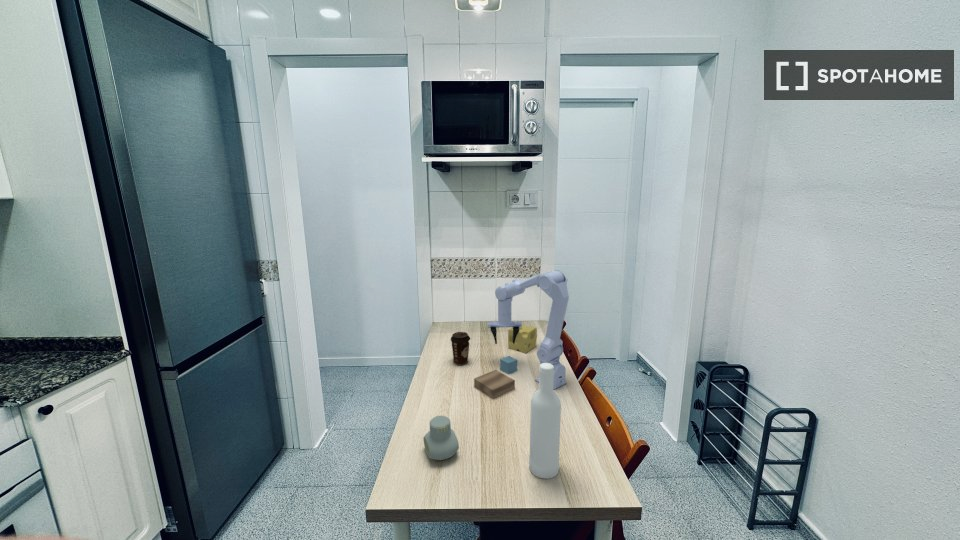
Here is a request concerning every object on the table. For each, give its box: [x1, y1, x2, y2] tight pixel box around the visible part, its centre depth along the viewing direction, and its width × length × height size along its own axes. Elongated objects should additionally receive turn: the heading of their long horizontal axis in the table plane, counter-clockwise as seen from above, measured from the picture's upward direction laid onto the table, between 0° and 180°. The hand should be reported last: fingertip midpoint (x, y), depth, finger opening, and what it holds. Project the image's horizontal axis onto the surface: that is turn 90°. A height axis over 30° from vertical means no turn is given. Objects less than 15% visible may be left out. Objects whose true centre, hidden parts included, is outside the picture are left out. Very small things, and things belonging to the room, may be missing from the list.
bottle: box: [528, 363, 562, 480], centre depth 95 cm, size 8×8×30 cm
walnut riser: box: [473, 369, 516, 400], centre depth 138 cm, size 11×11×4 cm
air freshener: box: [422, 415, 460, 461], centre depth 103 cm, size 11×8×10 cm
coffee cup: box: [450, 331, 471, 366], centre depth 159 cm, size 9×8×13 cm
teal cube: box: [499, 355, 518, 375], centre depth 152 cm, size 5×5×5 cm
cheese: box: [507, 324, 538, 354], centre depth 175 cm, size 10×11×10 cm
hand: (504, 343), depth 158 cm, fingers open, 7 cm apart
